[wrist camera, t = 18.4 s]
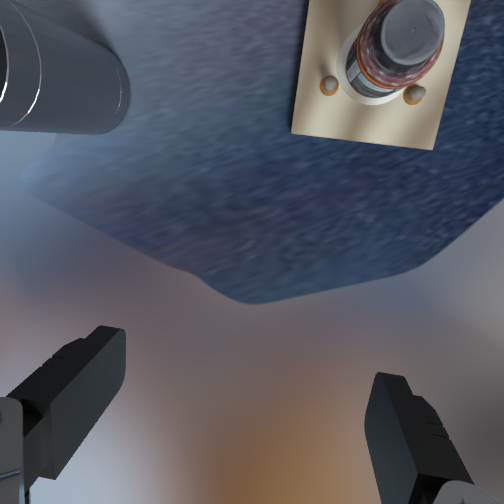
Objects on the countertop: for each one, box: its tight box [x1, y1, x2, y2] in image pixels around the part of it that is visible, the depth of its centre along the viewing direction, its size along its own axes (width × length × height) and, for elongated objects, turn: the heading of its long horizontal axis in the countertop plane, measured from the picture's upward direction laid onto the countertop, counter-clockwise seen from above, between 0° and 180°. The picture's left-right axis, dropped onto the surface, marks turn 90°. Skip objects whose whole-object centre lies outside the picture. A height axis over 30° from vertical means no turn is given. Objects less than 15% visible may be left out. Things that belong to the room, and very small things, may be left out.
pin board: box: [291, 0, 471, 150], centre depth 33 cm, size 14×14×3 cm
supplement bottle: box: [346, 0, 445, 98], centre depth 28 cm, size 6×6×11 cm
